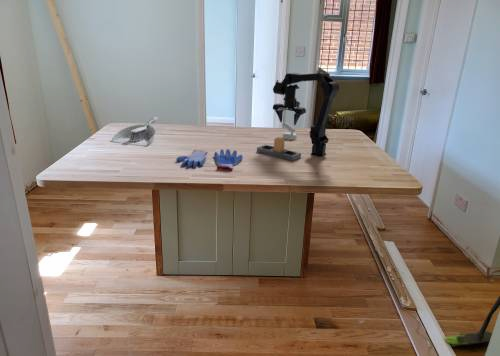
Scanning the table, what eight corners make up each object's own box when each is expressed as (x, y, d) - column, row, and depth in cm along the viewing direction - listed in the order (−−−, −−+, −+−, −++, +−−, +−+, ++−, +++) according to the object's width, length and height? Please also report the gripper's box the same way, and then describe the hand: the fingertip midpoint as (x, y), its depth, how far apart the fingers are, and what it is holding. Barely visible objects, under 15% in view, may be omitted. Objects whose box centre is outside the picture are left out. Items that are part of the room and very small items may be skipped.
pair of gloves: (172, 168, 186) (171, 161, 184) (184, 152, 209) (184, 145, 208) (238, 173, 184) (238, 165, 182) (243, 156, 208) (243, 149, 206)
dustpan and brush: (110, 142, 219) (108, 126, 216) (141, 129, 249) (140, 114, 246) (146, 147, 214) (145, 130, 210) (174, 133, 244) (173, 118, 240)
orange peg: (283, 154, 211) (284, 138, 208) (279, 156, 208) (280, 140, 205) (277, 153, 213) (278, 137, 210) (273, 154, 210) (274, 138, 207)
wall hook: (286, 120, 246) (300, 123, 241) (285, 134, 250) (298, 137, 244) (279, 122, 240) (293, 125, 235) (278, 137, 244) (291, 140, 238)
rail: (300, 157, 208) (301, 153, 207) (293, 161, 201) (293, 156, 201) (264, 148, 220) (265, 144, 219) (256, 151, 214) (257, 147, 213)
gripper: (311, 96, 218) (309, 124, 224) (283, 92, 228) (281, 118, 234) (302, 99, 210) (299, 127, 215) (273, 94, 220) (271, 121, 225)
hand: (287, 123), depth 223 cm, fingers open, 9 cm apart
